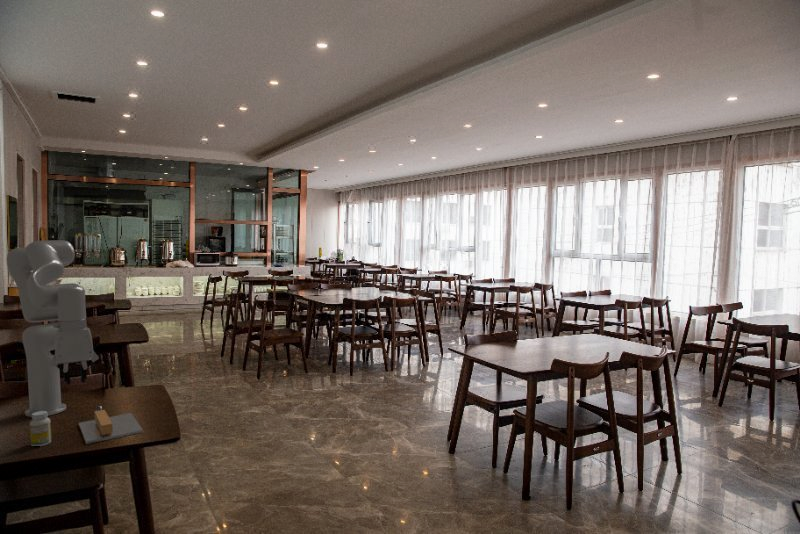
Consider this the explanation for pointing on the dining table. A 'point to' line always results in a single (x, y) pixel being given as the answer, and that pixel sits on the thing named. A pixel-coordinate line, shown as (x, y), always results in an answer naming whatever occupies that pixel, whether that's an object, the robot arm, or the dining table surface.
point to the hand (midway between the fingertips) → (75, 382)
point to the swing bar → (103, 422)
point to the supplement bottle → (40, 429)
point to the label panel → (120, 424)
